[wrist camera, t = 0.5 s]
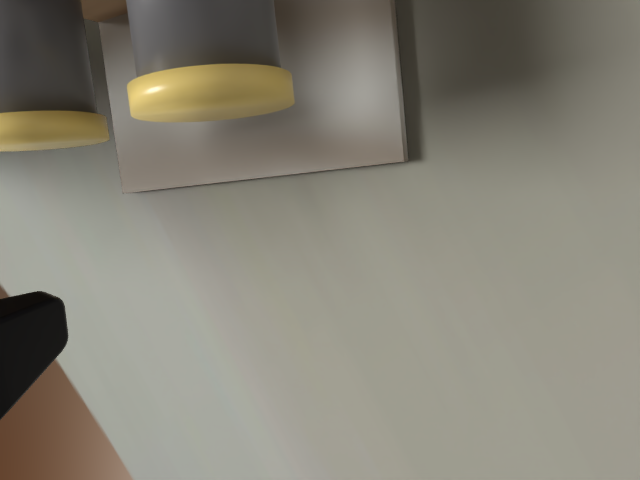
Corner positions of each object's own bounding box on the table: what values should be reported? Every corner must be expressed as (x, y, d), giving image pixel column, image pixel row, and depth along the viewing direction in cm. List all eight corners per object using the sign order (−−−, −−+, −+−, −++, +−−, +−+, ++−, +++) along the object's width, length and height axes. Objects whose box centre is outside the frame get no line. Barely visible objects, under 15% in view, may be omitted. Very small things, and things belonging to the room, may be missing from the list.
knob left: (136, 136, 21) (20, 133, 17) (53, 151, 23) (-68, 150, 19) (107, -77, 20) (-24, -138, 16) (23, -40, 22) (-111, -86, 18)
